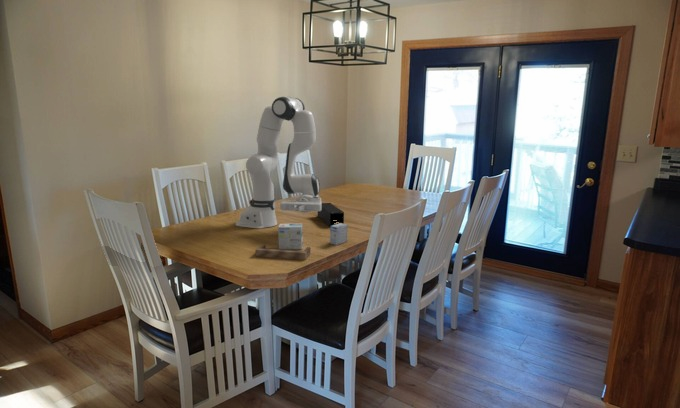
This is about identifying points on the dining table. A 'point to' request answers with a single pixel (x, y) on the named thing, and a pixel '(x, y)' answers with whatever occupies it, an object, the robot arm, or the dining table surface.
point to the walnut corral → (282, 253)
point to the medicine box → (338, 233)
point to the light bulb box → (290, 236)
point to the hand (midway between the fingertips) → (296, 209)
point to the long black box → (331, 214)
